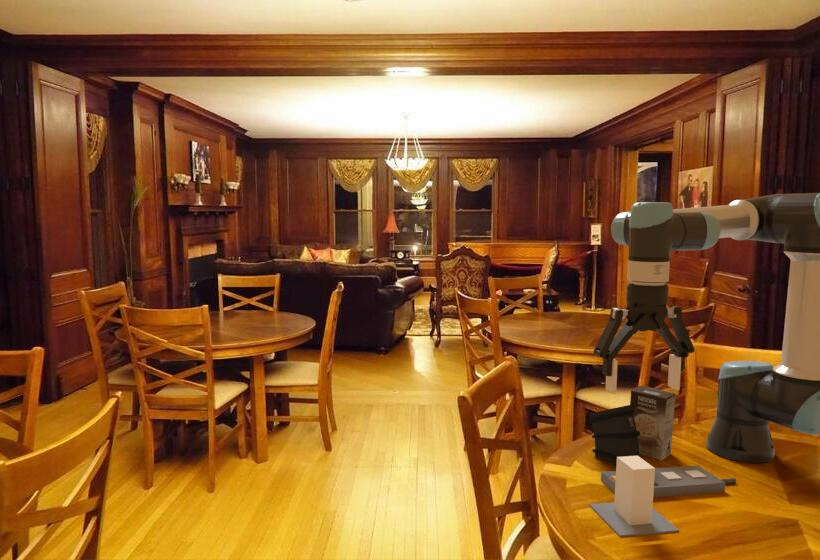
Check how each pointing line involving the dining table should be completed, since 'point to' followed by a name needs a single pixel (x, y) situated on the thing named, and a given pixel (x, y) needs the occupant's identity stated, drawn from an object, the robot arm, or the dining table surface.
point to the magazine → (615, 434)
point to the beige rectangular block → (634, 490)
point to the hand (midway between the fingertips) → (642, 390)
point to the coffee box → (653, 420)
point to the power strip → (678, 481)
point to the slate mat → (625, 529)
